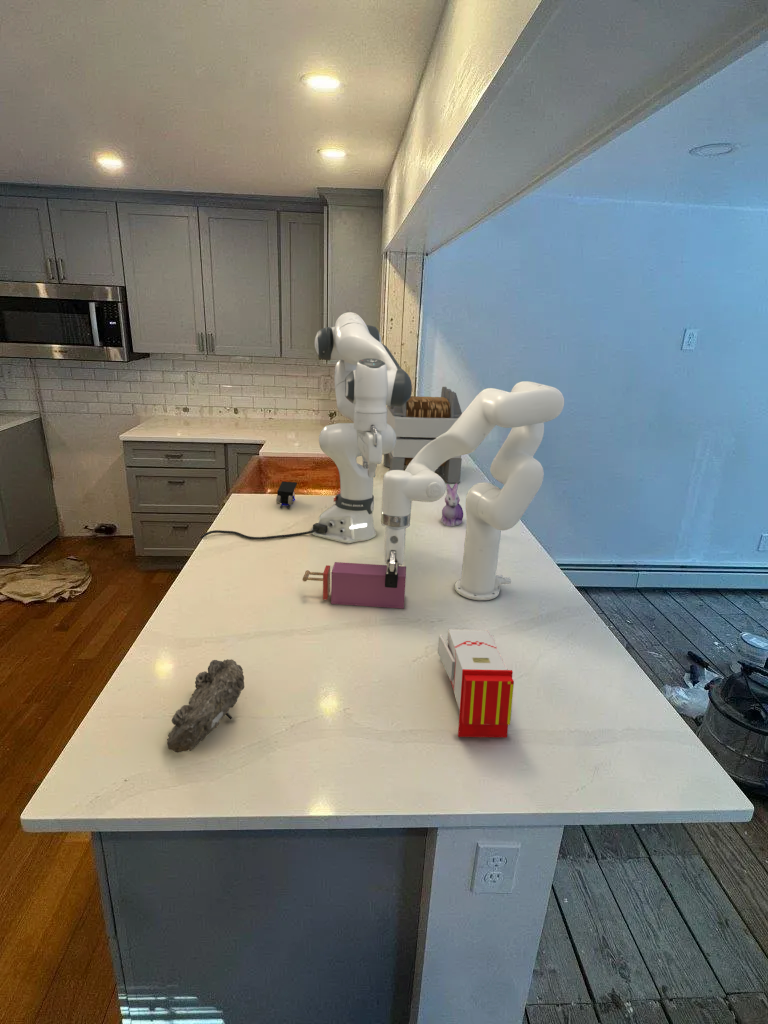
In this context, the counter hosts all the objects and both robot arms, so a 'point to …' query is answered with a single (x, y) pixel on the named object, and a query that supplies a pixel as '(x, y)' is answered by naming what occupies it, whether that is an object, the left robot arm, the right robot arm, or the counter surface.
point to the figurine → (452, 507)
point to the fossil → (206, 705)
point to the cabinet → (366, 585)
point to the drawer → (325, 580)
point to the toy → (478, 682)
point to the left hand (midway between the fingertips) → (368, 472)
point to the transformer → (423, 430)
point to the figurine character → (286, 494)
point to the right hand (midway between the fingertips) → (391, 578)
